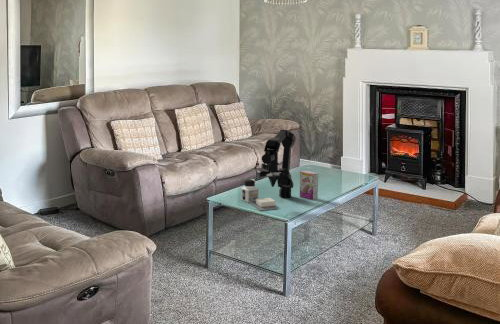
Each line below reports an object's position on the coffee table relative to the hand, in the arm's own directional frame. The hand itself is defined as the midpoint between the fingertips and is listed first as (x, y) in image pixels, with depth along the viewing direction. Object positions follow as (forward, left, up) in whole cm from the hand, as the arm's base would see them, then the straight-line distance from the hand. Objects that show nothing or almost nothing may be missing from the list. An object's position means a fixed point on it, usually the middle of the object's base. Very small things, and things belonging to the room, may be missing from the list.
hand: (272, 186), depth 348 cm
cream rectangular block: (0, 0, -9) cm, 9 cm away
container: (+8, -15, -11) cm, 21 cm away
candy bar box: (-28, -7, -11) cm, 31 cm away
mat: (+6, 0, -11) cm, 13 cm away
